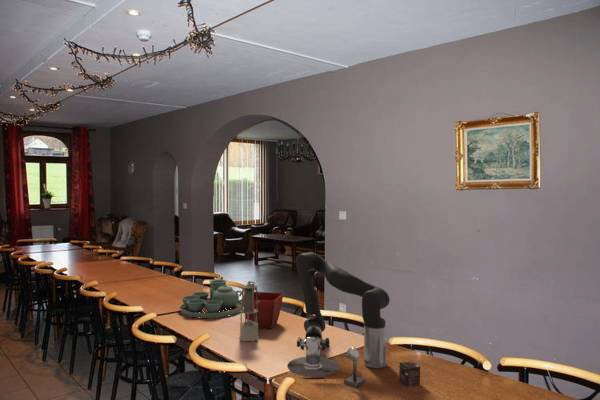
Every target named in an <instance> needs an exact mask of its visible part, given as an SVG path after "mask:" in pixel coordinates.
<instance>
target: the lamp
mask: <svg viewBox="0 0 600 400" xmlns="http://www.w3.org/2000/svg"><path fill="white" fill-rule="evenodd" d="M241 288H242V289H241V290H242V291H241V292H242V294H241V299H242V301H241V302H242V310H241V311H240V312H239V313H240V324H239V327H240V328H239V329H240V331H239V337H238V340H239V339H240V340H241V341H240V340H239V341H240V342H243V341H254V342H256V341H258V340H260V337H259V328H258V323H257V312H258V307H257V309H254V292H256V303H255V304H257V306H258V303H259V302H260V301H259V302H258V299H257V292H258V293H259V292H260V291H258V285H256V283H255V282H254V281H250V280H249V281H247V284H244V285H242V286H241ZM243 294H244V298H245V306H244V299H243ZM259 294H260V293H259ZM246 313H247V317H248V314H252V313H254V320H255V313H256V322H255V321H254V322H252V320H249V321H247V320H246ZM242 314H244V321H243V320H242V318H243V315H242ZM247 319H248V318H247ZM257 339H258V340H257ZM255 340H256V341H255Z"/></svg>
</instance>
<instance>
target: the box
mask: <svg viewBox="0 0 600 400" xmlns="http://www.w3.org/2000/svg"><path fill="white" fill-rule="evenodd" d="M398 380H399V381H400V383H402V384H404V386H407V387H411V386H417V385H421V366H420V365H419V364H417V363H416V362H414V361H413V360H410V361H404V362H399V375H398Z"/></svg>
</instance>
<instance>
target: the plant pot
mask: <svg viewBox="0 0 600 400" xmlns="http://www.w3.org/2000/svg"><path fill="white" fill-rule="evenodd" d="M258 292H259V293H260V294H259V293H258ZM258 292H257V299H258V302H259V301H260V302H259V303H258V306H257V304H255V303H256V291H254V309H257V307H258V312H257V323H258V329H264V328H267V329H269V330H270V328H271V329H272V328H273V327H274V326H275V325H277V323H278V321H279V317H280V315H281V314H280V313H281V309H282V305H283V300H284V299H283V298H284V293H282V292H268V291H265V292H264V291H258ZM243 299H244V306H245V298H243ZM247 318H248V319H247ZM249 320H252V322H254V321H255V322H256V313H255V320H254V313H252V314H248V317H247V313H246V321H249ZM267 329H266V330H267Z"/></svg>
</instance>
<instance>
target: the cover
mask: <svg viewBox="0 0 600 400" xmlns="http://www.w3.org/2000/svg"><path fill="white" fill-rule="evenodd" d="M305 357H306V367H308V368H319V367H320V357H321V347H320V339H318V338H316V337H310V338H308V339H306V347H305Z"/></svg>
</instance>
